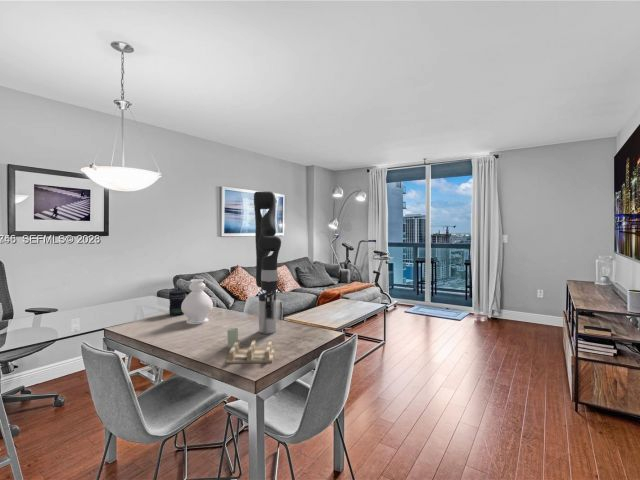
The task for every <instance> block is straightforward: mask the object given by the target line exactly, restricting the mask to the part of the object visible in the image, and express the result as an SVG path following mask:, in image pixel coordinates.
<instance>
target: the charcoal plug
mask: <svg viewBox="0 0 640 480" xmlns="http://www.w3.org/2000/svg"><path fill="white" fill-rule="evenodd" d="M271 302H272V301H271ZM267 306H270V305H267ZM268 319H274V300H273V304H272V317H271V318H267V310H266V304H265V320H268Z"/></svg>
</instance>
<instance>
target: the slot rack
mask: <svg viewBox="0 0 640 480" xmlns="http://www.w3.org/2000/svg"><path fill="white" fill-rule="evenodd" d="M275 352H276V347H273V339H268V342H267V346H266V347H257V340H256V339H252V341H251V343H250V346H249V347H241V344H240V339H238V340H236V342H235V343H234V345H233V347H231V348H230V349H229V352H228V357H227V358H226V360H225V364H269V363H270V364H271V363H273V360H274V356H275V355H274V354H275Z"/></svg>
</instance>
